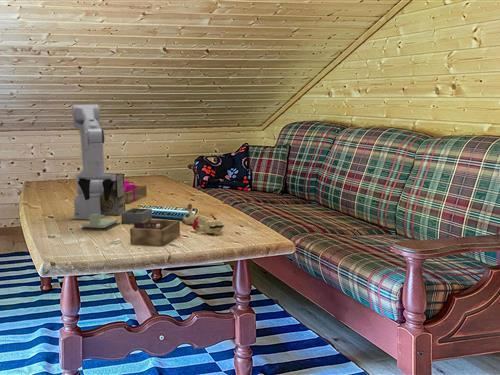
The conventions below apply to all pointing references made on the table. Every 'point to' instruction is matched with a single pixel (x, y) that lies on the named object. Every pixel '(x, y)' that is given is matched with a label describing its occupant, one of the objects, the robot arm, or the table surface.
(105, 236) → the table surface
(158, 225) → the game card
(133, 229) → the holders
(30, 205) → the table surface
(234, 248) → the table surface
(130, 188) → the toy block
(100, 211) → the robot arm
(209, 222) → the cat figure
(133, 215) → the tub
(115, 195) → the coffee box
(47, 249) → the table surface
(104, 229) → the mat
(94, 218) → the lid
